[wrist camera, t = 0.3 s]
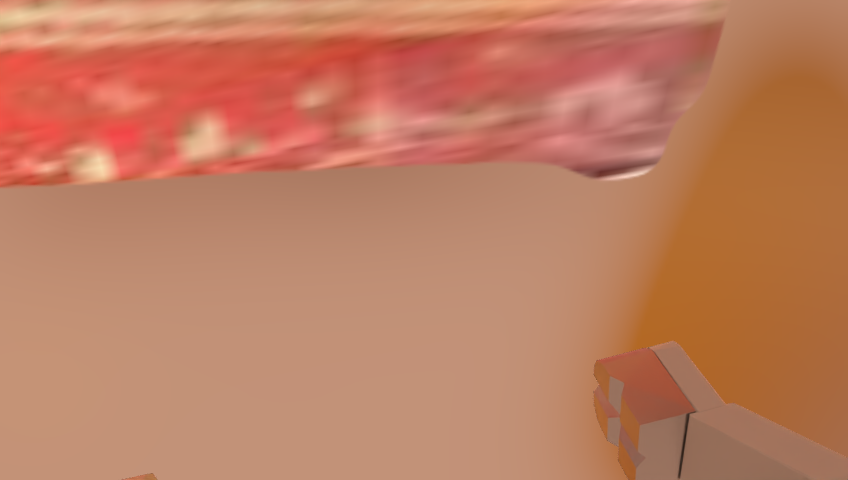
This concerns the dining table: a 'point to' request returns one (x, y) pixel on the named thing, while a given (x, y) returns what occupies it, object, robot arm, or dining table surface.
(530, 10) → the dining table surface
